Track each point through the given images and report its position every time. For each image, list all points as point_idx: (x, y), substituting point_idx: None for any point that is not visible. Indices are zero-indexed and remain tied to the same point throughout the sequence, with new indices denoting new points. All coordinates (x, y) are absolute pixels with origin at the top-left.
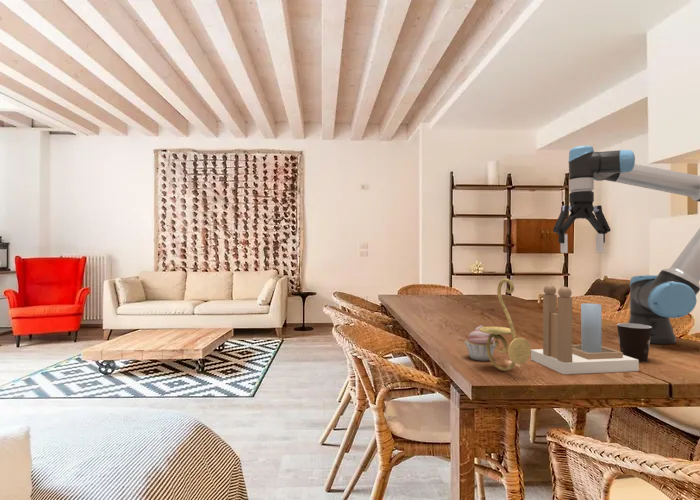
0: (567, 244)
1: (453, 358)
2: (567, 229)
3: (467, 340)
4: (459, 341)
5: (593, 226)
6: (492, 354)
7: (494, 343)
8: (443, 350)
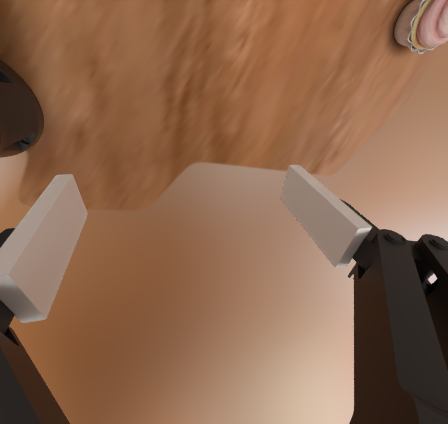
0: (313, 187)
1: None
2: (381, 258)
3: (431, 48)
4: (343, 146)
5: (51, 395)
6: (414, 2)
7: (419, 9)
8: (405, 93)
